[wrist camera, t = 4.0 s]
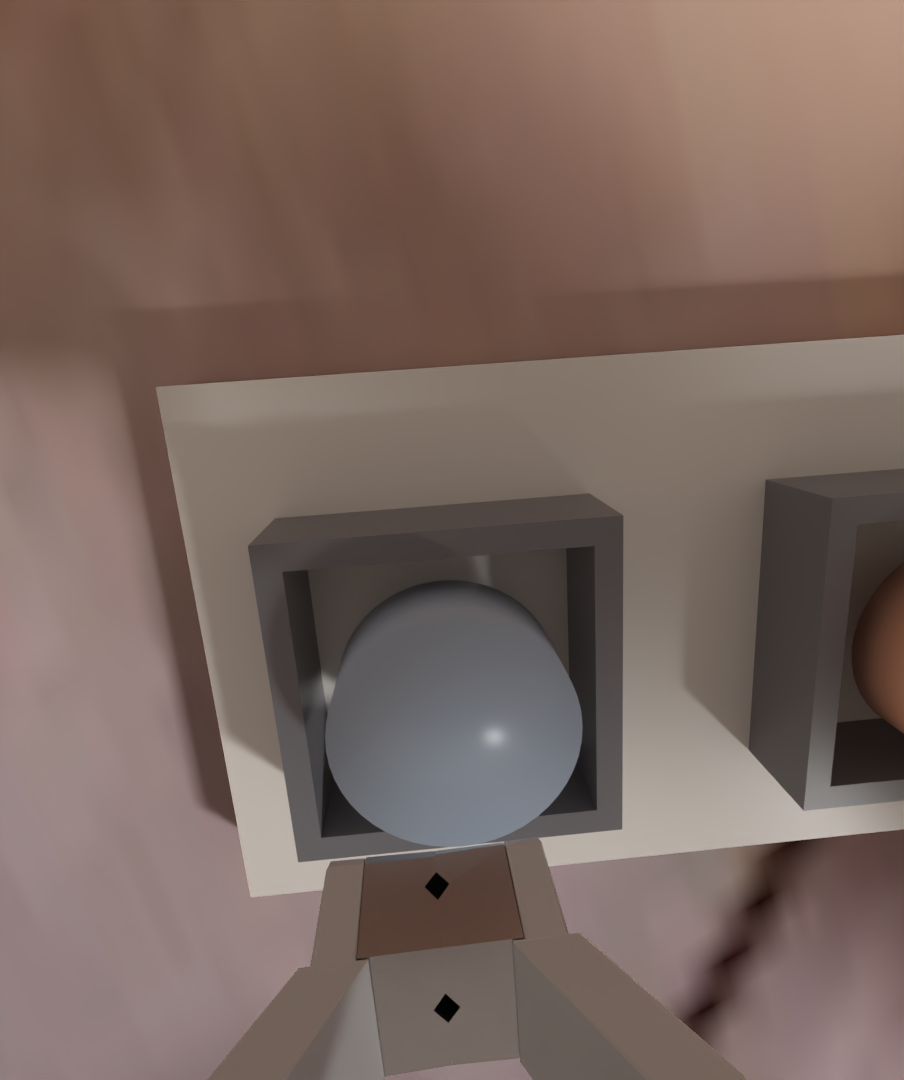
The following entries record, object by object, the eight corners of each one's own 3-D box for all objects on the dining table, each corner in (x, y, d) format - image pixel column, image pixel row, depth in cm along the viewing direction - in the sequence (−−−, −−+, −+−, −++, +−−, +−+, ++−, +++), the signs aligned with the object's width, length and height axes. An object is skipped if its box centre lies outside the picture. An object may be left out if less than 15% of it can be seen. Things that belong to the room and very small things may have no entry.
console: (1494, 294, 17) (1860, 266, 13) (1342, 736, 21) (1588, 831, 16) (187, 385, 16) (101, 388, 11) (266, 845, 19) (224, 981, 15)
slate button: (554, 570, 14) (581, 606, 11) (559, 768, 15) (584, 834, 13) (326, 589, 13) (309, 630, 11) (351, 789, 15) (340, 858, 12)
